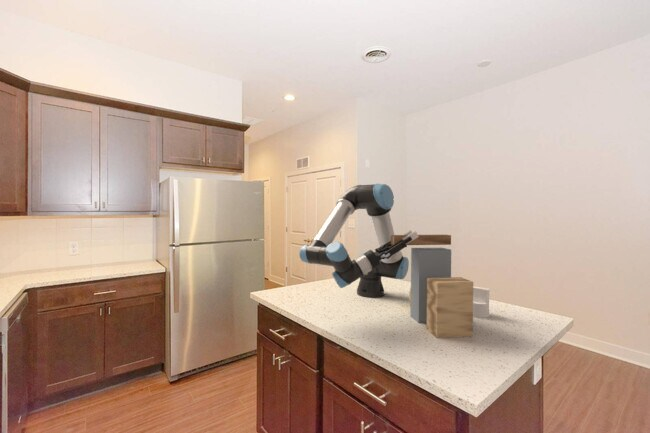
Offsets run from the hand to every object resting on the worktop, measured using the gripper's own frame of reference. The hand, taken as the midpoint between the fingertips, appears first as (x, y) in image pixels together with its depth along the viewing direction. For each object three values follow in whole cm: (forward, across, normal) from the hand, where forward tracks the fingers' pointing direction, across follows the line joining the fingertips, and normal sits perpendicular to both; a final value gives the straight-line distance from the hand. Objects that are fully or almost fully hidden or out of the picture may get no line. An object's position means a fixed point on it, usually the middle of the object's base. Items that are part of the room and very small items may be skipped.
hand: (414, 233), depth 128 cm
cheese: (-10, -12, -37) cm, 40 cm away
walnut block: (0, 0, -6) cm, 6 cm away
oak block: (-12, +15, -35) cm, 40 cm away
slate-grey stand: (-12, 0, -35) cm, 37 cm away
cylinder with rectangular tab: (+9, -3, -48) cm, 48 cm away
